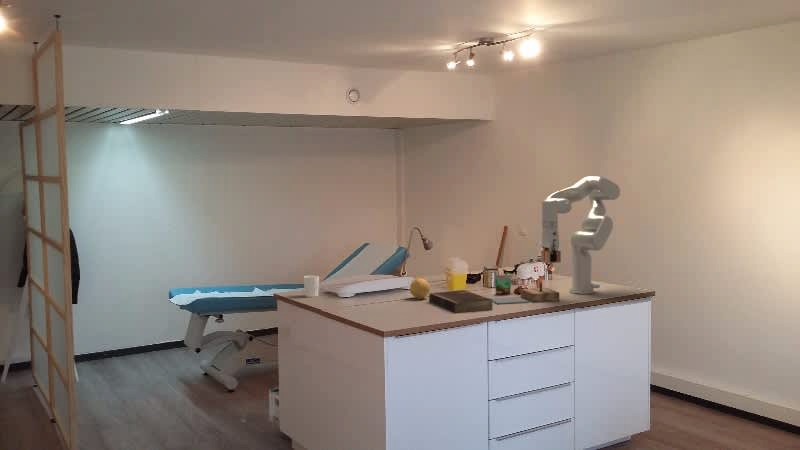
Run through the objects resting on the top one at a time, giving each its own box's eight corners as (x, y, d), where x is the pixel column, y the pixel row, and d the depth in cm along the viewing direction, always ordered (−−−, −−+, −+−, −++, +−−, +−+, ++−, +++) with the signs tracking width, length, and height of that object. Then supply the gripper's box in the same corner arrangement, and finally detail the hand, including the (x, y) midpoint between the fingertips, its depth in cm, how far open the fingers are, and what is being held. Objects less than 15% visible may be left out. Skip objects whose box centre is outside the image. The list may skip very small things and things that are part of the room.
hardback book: (429, 302, 350) (429, 292, 350) (463, 300, 357) (464, 289, 357) (455, 313, 323) (455, 302, 323) (492, 310, 330) (492, 299, 330)
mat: (518, 297, 358) (518, 296, 358) (529, 302, 346) (529, 301, 346) (487, 299, 355) (487, 298, 355) (497, 304, 342) (497, 303, 342)
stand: (546, 295, 364) (546, 279, 363) (559, 300, 350) (559, 283, 350) (520, 297, 360) (520, 280, 360) (532, 302, 347) (532, 285, 346)
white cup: (320, 294, 372) (320, 275, 371) (317, 297, 364) (317, 277, 363) (305, 294, 372) (305, 275, 372) (302, 297, 365) (301, 277, 364)
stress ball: (428, 298, 363) (415, 284, 367) (436, 285, 357) (423, 271, 361) (415, 304, 356) (402, 290, 360) (423, 291, 350) (410, 277, 354)
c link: (554, 260, 360) (554, 249, 359) (560, 262, 353) (560, 251, 352) (541, 261, 358) (541, 250, 358) (547, 263, 351) (547, 251, 351)
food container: (505, 295, 365) (505, 276, 364) (494, 294, 368) (494, 275, 367) (516, 292, 374) (516, 273, 374) (506, 291, 378) (506, 272, 377)
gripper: (565, 226, 346) (565, 262, 348) (549, 223, 363) (549, 258, 365) (550, 226, 344) (550, 263, 346) (535, 223, 361) (535, 258, 363)
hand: (549, 260), depth 355 cm, fingers closed on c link, 7 cm apart
